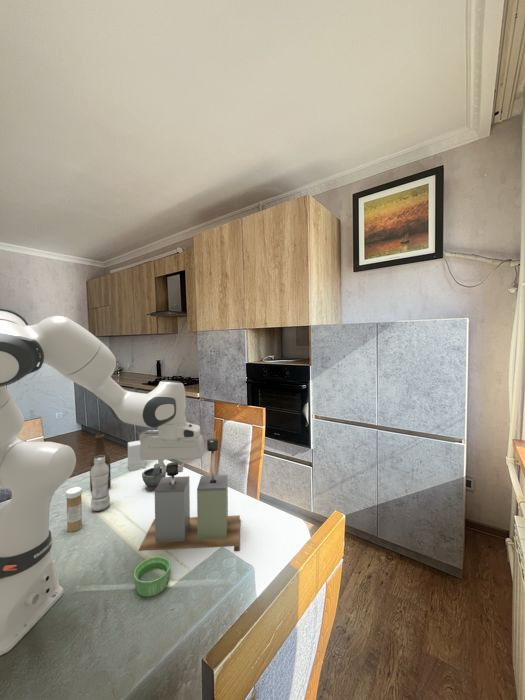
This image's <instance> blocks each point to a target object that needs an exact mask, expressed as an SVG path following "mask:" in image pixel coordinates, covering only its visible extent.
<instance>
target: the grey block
mask: <svg viewBox="0 0 525 700" xmlns="http://www.w3.org/2000/svg"><path fill="white" fill-rule="evenodd" d="M190 493H191V492H190V476H174V484H172V485H171V476H165V477H162V479H161V481H160V482H159V484H158V486H157V487H156V489H155V491H154V519H155V542H170V541H185V538H186V535H187V531H188V528H189V525H190V517H191V510H190V509H191V508H190V506H191V505H190V504H191V501H190Z"/></svg>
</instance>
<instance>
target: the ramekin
mask: <svg viewBox="0 0 525 700" xmlns="http://www.w3.org/2000/svg"><path fill="white" fill-rule="evenodd" d="M156 569H157V570H163V571H164V572H165V573H164V574H163V575H161V576H160V577H158V578H156V579H152V580H148V581H146V580H145V581H144V580H140V578H141V577H142V576H143V575H144V574H146V573H147V572H148V571H152V570H156ZM170 570H171V562H170V560H169V559H168V558H167V557H164V556H160V555H159V556H157V555H156V556H152V557H148V558H146V559H144V560H142V561H141V562H140V563H139V564H137V566H135V568H134V571H133V578H134V583H135V590H136V592H137V594H138V596H139V595H140V596H141V597H147V598H148V597H154V596H156V595H158V594H160V593H161V592H163V591H164V590H165V589H166V588H167V586H168V584H169V576H170Z"/></svg>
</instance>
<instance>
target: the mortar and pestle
mask: <svg viewBox="0 0 525 700" xmlns="http://www.w3.org/2000/svg"><path fill="white" fill-rule="evenodd" d="M166 475H167V473H162V468H161V466H160V465H159V463H158V462H156V463H155V464H153V467H150V468H148V469H146V470H144V471H143V472H142V474H141V477H142V481H143V482H144V484H145V486H146V490H147V489H148V490H147V491H149V490H150V492H155V489H156V487H157V486H158V484H159V482H160V481H161V479H162V477H167V476H166Z"/></svg>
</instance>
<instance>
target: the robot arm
mask: <svg viewBox="0 0 525 700" xmlns="http://www.w3.org/2000/svg"><path fill="white" fill-rule="evenodd" d="M43 364H46V365H48V366H50V367H52V368H53V369H54V370H56V372H57V371H58V372H59V373H60V374H62V375H63V376H65V378H67V379H68V380H71V381H72V382H73V383H74V384H77V385H79V386H81V387H83V388H84V389H86V390H87V391H88V392H90V393H91V394H93V396H94V397H96V398H97V399H98V400H100V401H101V403H103V404H104V405H105V406H106V407H108V409H109V411H110V413H111V416H113V418H114V420H116V421H117V422H118V423H120V424H124V425H132V426H133V425H134V426H138V427H145V428H153V429H152V430H150V429H146V430H143V431H142V432H140V434H139V440H140V443H141V445H140V453H139V457H140V458H141V460H145V461H157V463H159V465H160V466H161V467H160V468H162V473H166V474H167V464H165V462H164V461H165V460H166V461H167V460H180V463H181V464H178V473H183V472H184V466H185V464H186V462H187V460H193V459H195V460H196V459H200V460H201V459H202V458H203V457H204V455H205V443H204V437H203V435H202V434H201V426H200V425H198V424H195V423H191V422H188V421H187V417H186V408H187V407H186V406H187V399H186V389H185V388H186V387H185V385H184V383H182V382H181V381H177V380H168V379H167V380H166V379H164V380H163V379H162V380H160V381H159V383H158V385H157V386H156V387H155V388H154V389H153V390H151V391H149V392H148V393H145V392H144V393H141V392H136V391H133V390H126V389H124V388H123V387H122V386H120V384H118V383H117V382H116V381H115V379H114V378H112V376H113V374H114V372H115V371H116V366H117V359H116V356H115V355H114V354H113V352H112V350H110V348H109V347H108V346H107V345H106V344H105V343H103V342H102V341H101V340H100V339H99V338H98V337H97V336H96V335H94V334H93V333H91V332H90V331H89V330H87V329H86V328H85V327H83V326H81V325H80V324H79V323H78V322H75V321H73V319H70V318H69V317H66V316H65V315H64V316H63V315H53V316H48V317H46V318H44V319H43V320H41V321H39V322H38V323H35V324H32V325H31V324H30V325H29V324H28V321H26V319H25V318H24V317H23V316H22V315H21V314H20V313H18V312H16V311H14V310H12V309H9V308H5V307H0V490H10V492H11V499H10V502H8V503H6V504H4V506H3V507H1V508H0V656H2V655H4V654H6V653H9V651H11V650H12V649H13V648H14V647H15V646H16V645H17V644H18V643H19V642H20V641H21V639H23V637H24V636H25V635H26V634H27V633H28V632H29V631H30V630H31V629H32V628H33V627H34V625H36V623H38V622H39V621H40V620H41V619H42V618H43V616H44V615H45V614H46V613H47V612H48V611H49V610H50V609H51V608H52V607H53V606H54V605H55V603H57V602H58V601H59V599H60V598H61V597H62V596H63V595H64V588H63V587H62V586H61V585H60V581H59V575H58V569H57V562H56V559H55V558H54V555H53V553H52V552H51V551H52V550H51V549H52V547H53V546H52V545H53V543H52V542H53V536H52V531H51V530H50V507H51V502H52V499H53V496H54V495H55V493H56V491H57V490H58V489H59V488H60V486H62V485H63V484H65V482H67V481H68V480H69V479H70V477H72V474H73V473H74V470H75V468H76V466H77V465H76V464H77V458H76V457H77V456H76V453H75V451H74V449H73V448H72V447H71V446H69V445H66V444H63V443H59V442H54V441H26V440H22V439H20V438H18V435H19V434H20V432H21V430H22V429H23V427H24V423H25V417H24V415H23V413H22V411H21V409H20V408H19V406H18V405H17V403H16V402H15V399H14V398H13V397H12V395H11V393H10V391H9V390H8V389H7V387H6V386H9V385H12V384H14V383H16V382H19V380H22V379H23V378H24V377H26V376H27V375H30V374H32V373H35V372H37V371H39V370H40V369H41V368H42V367H43ZM155 428H157V429H155Z"/></svg>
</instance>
